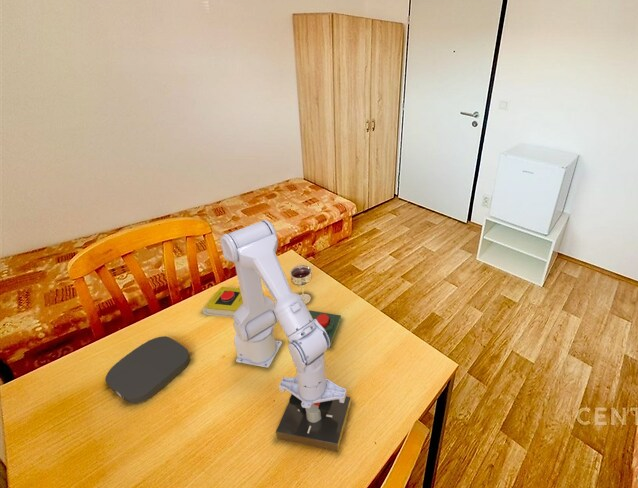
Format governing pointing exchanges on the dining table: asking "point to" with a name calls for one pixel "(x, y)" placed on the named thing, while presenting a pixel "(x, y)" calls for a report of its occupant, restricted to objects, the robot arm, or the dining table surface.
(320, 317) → the button
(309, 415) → the dial knob
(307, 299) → the wineglass
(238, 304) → the emergency button
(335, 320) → the button housing
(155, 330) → the dining table surface
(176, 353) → the media streaming box
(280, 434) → the control panel
